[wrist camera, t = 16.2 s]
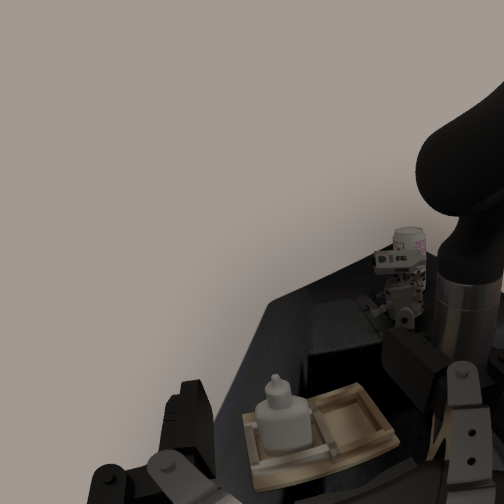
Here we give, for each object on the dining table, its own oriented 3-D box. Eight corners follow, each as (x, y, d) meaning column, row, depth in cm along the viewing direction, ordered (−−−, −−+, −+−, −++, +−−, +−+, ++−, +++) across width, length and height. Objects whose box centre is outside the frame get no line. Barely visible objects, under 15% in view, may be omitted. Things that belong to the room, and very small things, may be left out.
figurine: (373, 311, 56) (370, 244, 52) (423, 312, 49) (425, 243, 46) (364, 334, 49) (361, 259, 45) (421, 336, 42) (426, 258, 38)
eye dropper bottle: (277, 428, 30) (261, 358, 27) (318, 439, 27) (312, 367, 24) (259, 452, 27) (237, 384, 24) (302, 465, 24) (292, 397, 21)
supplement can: (399, 282, 66) (397, 226, 63) (428, 284, 60) (427, 226, 57) (390, 295, 61) (387, 233, 57) (421, 298, 55) (421, 234, 51)
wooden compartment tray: (357, 387, 35) (357, 372, 35) (398, 446, 23) (402, 432, 22) (243, 418, 34) (239, 405, 33) (256, 492, 21) (251, 482, 21)
